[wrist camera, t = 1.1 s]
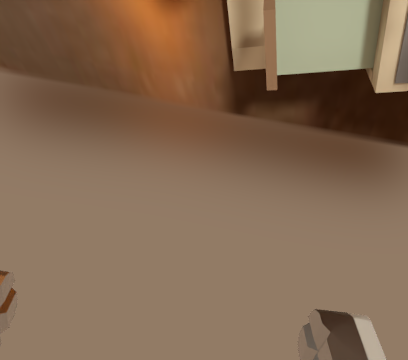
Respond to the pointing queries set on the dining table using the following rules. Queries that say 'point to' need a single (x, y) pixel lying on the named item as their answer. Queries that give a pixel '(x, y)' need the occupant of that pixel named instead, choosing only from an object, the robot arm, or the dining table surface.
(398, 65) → the beige stepped box
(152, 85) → the dining table surface
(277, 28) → the cover
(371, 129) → the dining table surface
